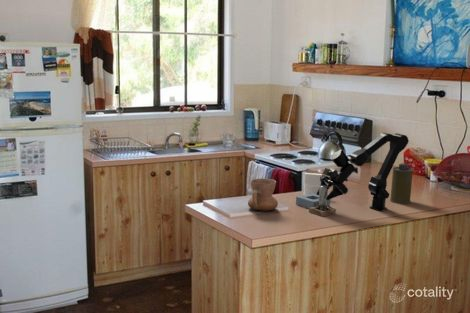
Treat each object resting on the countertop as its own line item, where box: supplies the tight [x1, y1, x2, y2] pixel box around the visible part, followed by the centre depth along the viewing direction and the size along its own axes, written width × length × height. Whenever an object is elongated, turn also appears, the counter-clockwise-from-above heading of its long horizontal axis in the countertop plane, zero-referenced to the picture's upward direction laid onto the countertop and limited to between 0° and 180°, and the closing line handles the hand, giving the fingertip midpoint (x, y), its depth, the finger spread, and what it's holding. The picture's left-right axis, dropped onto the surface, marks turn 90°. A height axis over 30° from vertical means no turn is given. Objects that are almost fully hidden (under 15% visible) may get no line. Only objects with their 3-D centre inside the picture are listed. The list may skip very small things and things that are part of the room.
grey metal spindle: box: [318, 185, 329, 211], centre depth 286 cm, size 4×4×13 cm
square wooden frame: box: [308, 206, 337, 217], centre depth 287 cm, size 9×9×2 cm
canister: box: [389, 162, 414, 205], centre depth 313 cm, size 11×10×20 cm
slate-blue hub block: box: [295, 194, 331, 209], centre depth 300 cm, size 12×12×4 cm
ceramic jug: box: [247, 177, 279, 212], centre depth 289 cm, size 18×14×14 cm
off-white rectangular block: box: [303, 172, 323, 195], centre depth 319 cm, size 9×9×12 cm
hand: (321, 197), depth 286 cm, fingers open, 9 cm apart
